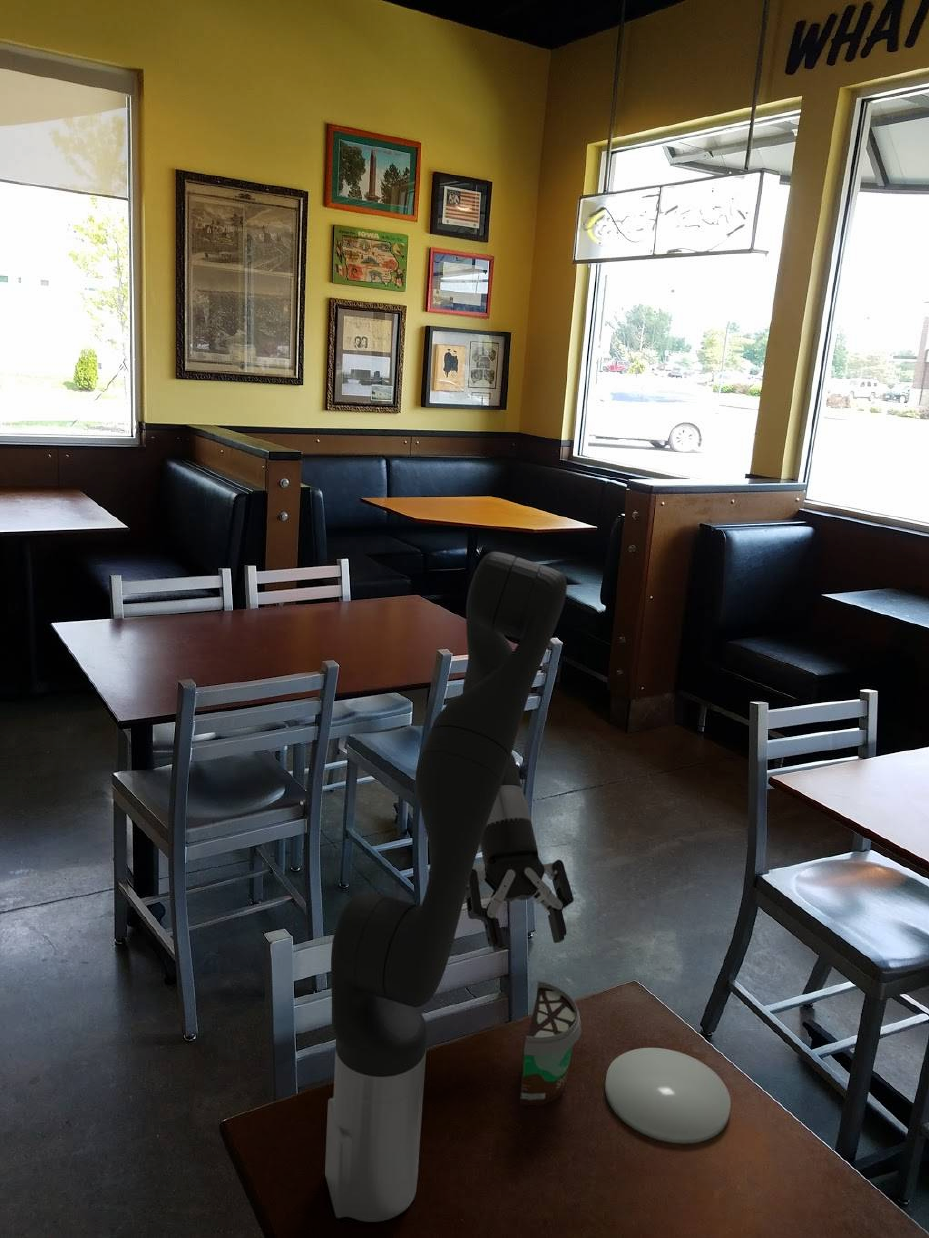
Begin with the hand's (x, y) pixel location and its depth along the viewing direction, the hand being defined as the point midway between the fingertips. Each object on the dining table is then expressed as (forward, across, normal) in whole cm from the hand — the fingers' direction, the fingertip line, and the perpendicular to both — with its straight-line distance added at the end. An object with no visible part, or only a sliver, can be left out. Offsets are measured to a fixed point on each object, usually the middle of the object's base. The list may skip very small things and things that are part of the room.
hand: (529, 945), depth 126 cm
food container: (+16, 0, +3) cm, 16 cm away
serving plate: (+20, +13, -1) cm, 24 cm away
